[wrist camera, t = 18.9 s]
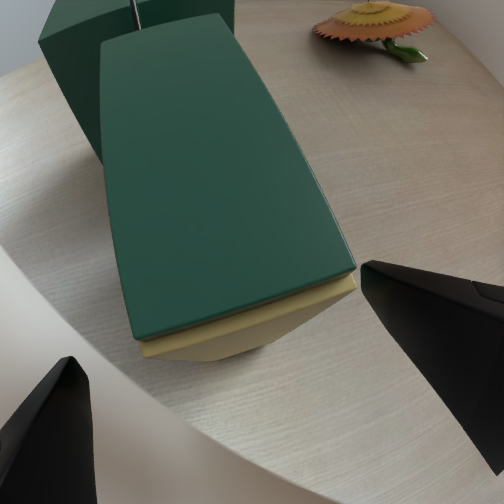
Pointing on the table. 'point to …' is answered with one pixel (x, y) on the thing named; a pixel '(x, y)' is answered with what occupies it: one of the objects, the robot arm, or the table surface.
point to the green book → (210, 197)
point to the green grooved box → (97, 31)
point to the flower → (379, 26)
